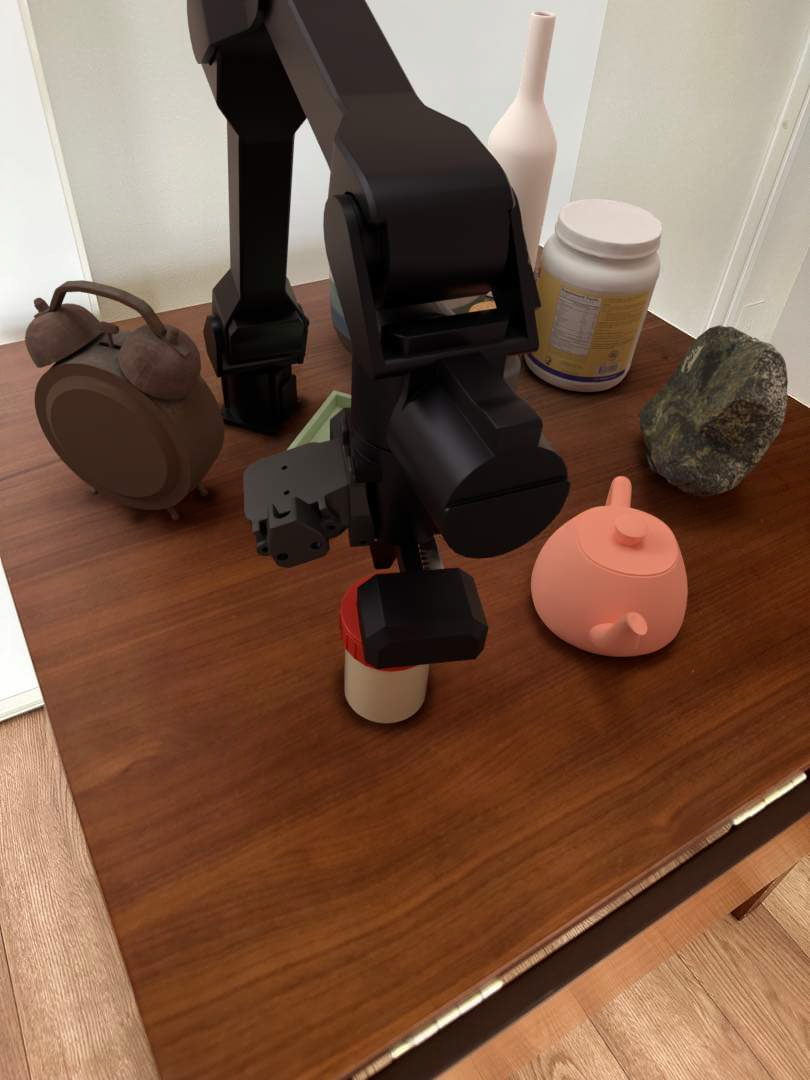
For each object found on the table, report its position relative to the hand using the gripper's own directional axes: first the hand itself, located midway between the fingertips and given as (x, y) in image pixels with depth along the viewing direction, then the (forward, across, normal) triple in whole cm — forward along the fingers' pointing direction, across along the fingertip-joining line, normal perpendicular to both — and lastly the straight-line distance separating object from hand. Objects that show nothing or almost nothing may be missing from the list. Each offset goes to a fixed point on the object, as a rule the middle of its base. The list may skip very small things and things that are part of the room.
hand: (390, 612), depth 51 cm
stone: (+9, -20, +33) cm, 39 cm away
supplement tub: (+9, -40, +28) cm, 50 cm away
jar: (+9, 0, 0) cm, 9 cm away
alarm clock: (+9, -23, -18) cm, 30 cm away
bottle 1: (+9, -26, +13) cm, 30 cm away
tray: (+9, -26, +1) cm, 27 cm away
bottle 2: (+9, -60, +24) cm, 65 cm away
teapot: (+9, -5, +18) cm, 21 cm away
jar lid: (0, 0, 0) cm, 0 cm away
